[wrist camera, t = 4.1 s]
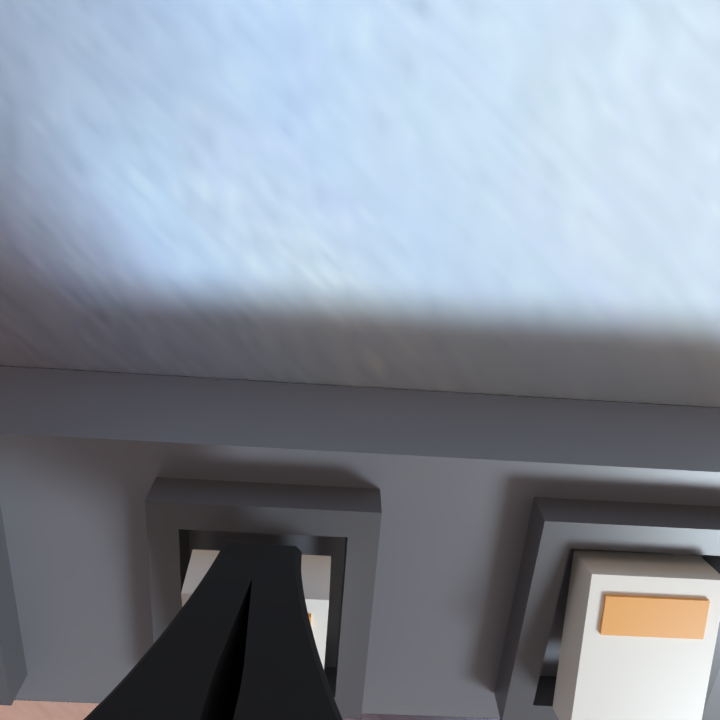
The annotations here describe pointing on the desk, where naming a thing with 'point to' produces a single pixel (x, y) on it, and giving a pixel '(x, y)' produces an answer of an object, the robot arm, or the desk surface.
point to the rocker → (637, 637)
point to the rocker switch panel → (334, 524)
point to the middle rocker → (313, 582)
